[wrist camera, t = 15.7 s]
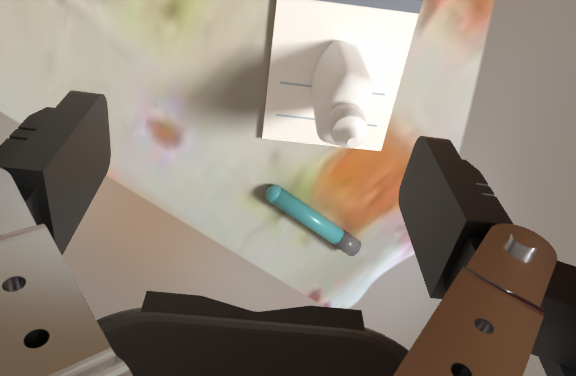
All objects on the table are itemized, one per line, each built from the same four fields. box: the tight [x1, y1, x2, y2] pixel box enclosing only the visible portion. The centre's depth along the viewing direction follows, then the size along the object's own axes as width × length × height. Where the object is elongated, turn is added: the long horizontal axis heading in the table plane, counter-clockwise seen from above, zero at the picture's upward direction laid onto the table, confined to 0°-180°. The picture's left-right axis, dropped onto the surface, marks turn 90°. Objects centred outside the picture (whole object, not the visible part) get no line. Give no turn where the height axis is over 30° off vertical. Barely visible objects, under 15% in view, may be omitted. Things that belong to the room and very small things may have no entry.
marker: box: [266, 185, 361, 256], centre depth 48 cm, size 12×2×2 cm, turn 50°
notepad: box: [262, 0, 423, 151], centre depth 39 cm, size 11×14×1 cm
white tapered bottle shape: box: [311, 40, 373, 148], centre depth 34 cm, size 4×6×12 cm
